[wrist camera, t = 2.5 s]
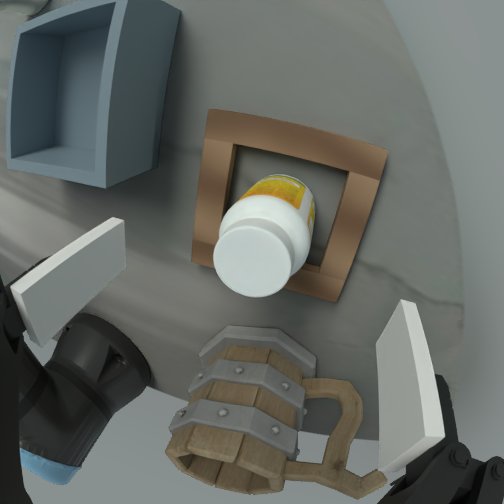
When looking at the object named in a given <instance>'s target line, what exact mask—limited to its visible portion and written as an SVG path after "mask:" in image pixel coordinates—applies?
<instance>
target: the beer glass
mask: <svg viewBox="0 0 504 504" xmlns="http://www.w3.org/2000/svg"><path fill="white" fill-rule="evenodd" d="M48 1H49V0H0V13H2V12H19V13H22V14H26V15H29V16H33V15H36V14H37V13H39V12H40V11H41V10H42V9H43V8H44V7H45V5H46V4H47V3H48Z"/></svg>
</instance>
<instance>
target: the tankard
mask: <svg viewBox="0 0 504 504" xmlns="http://www.w3.org/2000/svg"><path fill="white" fill-rule="evenodd" d="M199 358H200V361H201V364H202V367H203V371H201V372H200V373H199V374H197V375H196V376H195V377H194V379H193V381H192V383H191V385H190V387H189V389H188V392H189V395H190V397H191V400H190V402H189V404H188V406H187V407H184V408H183V409H181V410H179V411H177V412H176V414H175V416H174V418H173V420H172V422H171V424H170V426H169V430H170V432H171V433H172V435H173V436H172V438H171V440H170V442H169V444H168V446H167V448H166V450H165V453H166V455H167V456H168V458H169V459H170V460H171V461H172V462H173V464H174V465H175V466H176V467H177V468H178V469H179V470H181V472H183V473H185V474H187V475H190V476H191V477H194V478H195V479H197V480H200V481H202V482H204V483H206V484H208V485H210V486H212V485H214V484H215V487H216V488H221V489H225V490H229V491H234V492H239V493H244V494H253V495H258V494H268V493H276V492H280V491H282V490H283V487H284V483H285V480H291V481H306V482H307V481H308V482H316V483H319V484H321V485H324V486H326V487H329V488H332V489H334V490H337V491H339V492H341V493H343V494H346V495H348V496H350V497H353V498H355V499H357V500H358V499H360V498H362V497H364V496H366V495H368V494H370V493H372V492H373V491H375V490H377V489H379V488H381V487H383V486H384V485H385V484H386V482H387V478H386V477H385V476H384V474H383V473H382V472H381V471H378V469H376V470H374V471H372V472H370V473H369V474H367V475H365V476H363V477H359V476H358V475H355V474H354V473H352V472H350V471H348V470H346V469H345V467H346V463H347V458H348V454H349V449H350V444H351V443H352V441H353V439H354V437H355V435H356V433H357V431H358V429H359V427H360V424H361V422H362V419H363V402H362V398H361V397H360V395H359V394H358V392H357V391H356V390H355V388H354V387H353V385H352V384H351V382H350V381H344V380H337V379H331V378H315V374H316V356H314V355H313V354H312V353H310V352H309V351H308V350H306V349H305V348H304V347H302V346H301V345H300V344H298V343H297V342H296V341H294V340H293V339H292V338H290V337H289V336H288V335H286V334H285V333H284V332H283V331H281V330H280V329H272V328H257V327H243V326H231V325H228V326H227V327H226V328H224V329H223V330H222V331H221V332H220V333H219V334H217V335H216V336H215V337H214V338H213V339H212V340H210V341H209V342H208V343H207V344H206V345H204V346H203V347H202V349H201V351H200V353H199ZM324 397H327V398H331V399H335V400H337V402H338V404H339V406H340V407H341V417H340V419H339V420H338V422H337V424H336V426H335V428H334V429H333V431H332V433H331V435H330V436H329V438H328V441H327V445H326V449H325V453H324V457H323V461H322V464H318V463H308V462H299V461H296V458H297V455H299V453H300V450H299V449H298V432H299V431H301V430H302V426H303V420H304V415H305V414H306V413H307V409H305V400H306V399H308V398H324Z"/></svg>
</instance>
